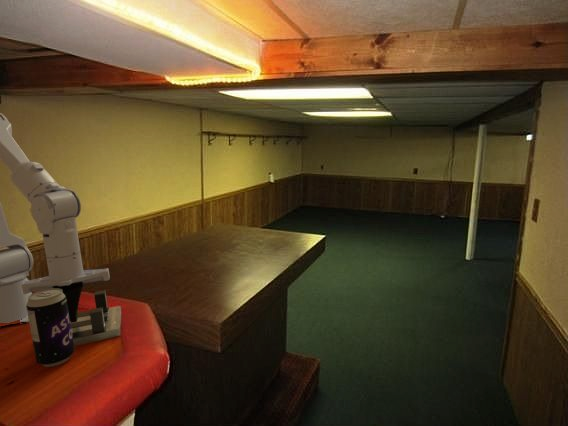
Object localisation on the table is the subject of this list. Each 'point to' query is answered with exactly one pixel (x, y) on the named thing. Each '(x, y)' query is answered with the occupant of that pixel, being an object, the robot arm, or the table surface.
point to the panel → (99, 336)
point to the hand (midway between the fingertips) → (74, 320)
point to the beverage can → (50, 327)
